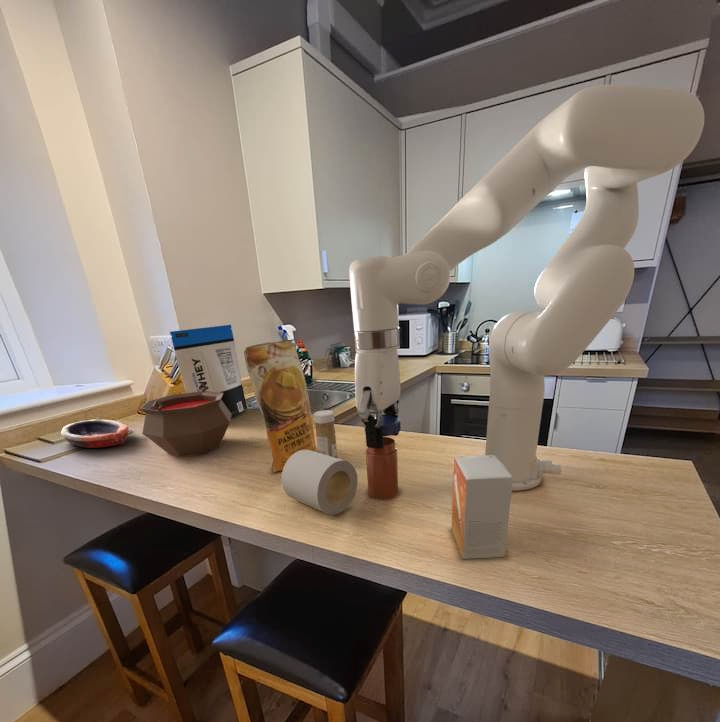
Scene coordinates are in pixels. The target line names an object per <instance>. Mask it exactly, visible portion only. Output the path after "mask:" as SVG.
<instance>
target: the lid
mask: <svg viewBox="0 0 720 722" xmlns="http://www.w3.org/2000/svg"><path fill="white" fill-rule="evenodd" d="M373 417H374V418H376V416H373ZM380 427H382V428H383V437H390V436H393V435H394V434H397V433H399V434H400V431H401V427H402V426H401V419H400V418H399V417H398V418H397V417H394V416H382V415H381V422H380Z"/></svg>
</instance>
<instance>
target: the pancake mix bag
mask: <svg viewBox="0 0 720 722" xmlns="http://www.w3.org/2000/svg"><path fill="white" fill-rule="evenodd" d="M243 355H244V361H245V366H246V369H247V372H248V376H249V378H250V380H251V381H250V382H251V384H252V388H253V393H254V397H255V401H256V403H257V406H258V409H259V410H260V413H261V415H262V418H263V421H264V425H265V430H266V435H267V440H268V443H269V445H270V450H271V455H272V456H271V457H272V464H271V465H272V466H271V467H272V472H273V473H277V472H281V471H283V468H284V466H285V464H286V462H287V460H288V459H289V458H290V457H291V456H292V455H293V454H294V453H296V452H298V451H300V450H311V451H314V452H317V444H316V440H315V431H314V424H313V423H314V422H313V419H312V418H313V417H312V410H311V404H310V397H309V392H308V387H307V382H306V377H305V374H304V370H303V366H302V363H301V361H300V357H299V353H298V350H297V347H296V343H295V342H293V340H292V339H285V340H280V341H274V342H264V343H258V344H254V345H250V346H246V347H245V349H244V352H243Z"/></svg>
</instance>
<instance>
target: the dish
mask: <svg viewBox="0 0 720 722" xmlns="http://www.w3.org/2000/svg"><path fill="white" fill-rule="evenodd" d="M60 434H61V436H62V437H63V438H64V439H65V440H66V441H67V442H68V443H70V444H71V445H73V446H77V447H81V448H84V449H85V448H86V449H99V448H109V447H114V446H119V445H121V444H123V443H125V442H126V440H127V438H128V434H129V426H128V425H126V424H125V423H124V422H120V421H118V420H117V421H116V420H112V419H111V420H109V419H102V418H100V417H96V419H89V420H88V419H86V420H79V421H76V422H75V421H74V422H72V423H69V424H67V425H65V426H63V427H62V428H61V430H60Z"/></svg>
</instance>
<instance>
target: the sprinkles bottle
mask: <svg viewBox="0 0 720 722" xmlns="http://www.w3.org/2000/svg"><path fill="white" fill-rule="evenodd" d="M312 418H313V419H312V420H313V423H314V427H315V438H316V449H317V453H321V454H324V455H328V456H331V457H334V458H338V457H339V456H338V447H337V438H336V430H335V413H334V411H333V410H327V409H324V410H318V411H315V412H314V413H313V414H312ZM338 459H339V458H338Z"/></svg>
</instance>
